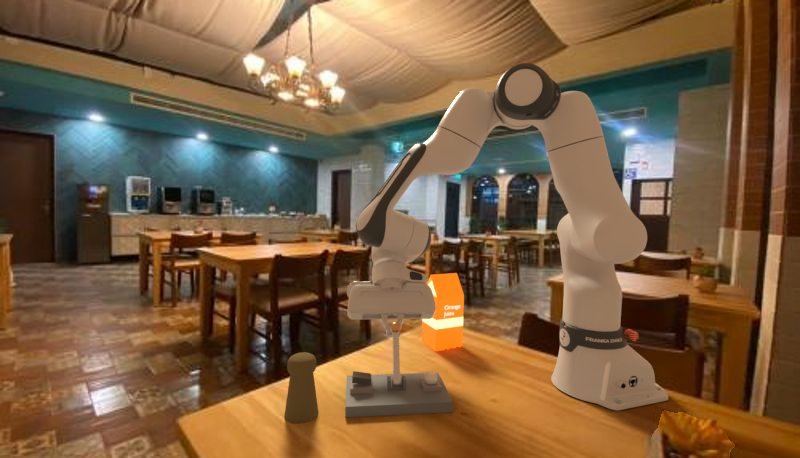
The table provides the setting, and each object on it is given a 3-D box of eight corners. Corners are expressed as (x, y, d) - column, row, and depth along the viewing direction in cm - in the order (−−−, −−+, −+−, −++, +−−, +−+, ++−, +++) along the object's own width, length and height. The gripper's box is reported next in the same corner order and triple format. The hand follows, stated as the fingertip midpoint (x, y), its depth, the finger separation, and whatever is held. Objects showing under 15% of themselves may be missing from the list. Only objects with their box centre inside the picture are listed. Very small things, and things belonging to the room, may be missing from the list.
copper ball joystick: (401, 386, 73) (400, 321, 77) (403, 387, 71) (401, 321, 75) (390, 386, 73) (389, 322, 77) (391, 387, 71) (390, 321, 75)
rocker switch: (369, 379, 73) (370, 373, 73) (370, 385, 71) (371, 379, 71) (352, 376, 72) (353, 371, 72) (352, 382, 70) (353, 376, 70)
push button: (435, 378, 75) (435, 371, 75) (438, 384, 72) (438, 377, 72) (423, 378, 74) (423, 371, 74) (425, 384, 72) (425, 377, 72)
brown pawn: (309, 425, 63) (310, 364, 62) (277, 420, 64) (278, 360, 63) (323, 406, 69) (324, 350, 68) (294, 402, 70) (294, 347, 69)
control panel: (438, 381, 80) (438, 363, 80) (452, 412, 68) (453, 391, 68) (346, 384, 77) (346, 366, 77) (345, 417, 65) (345, 396, 65)
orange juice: (421, 341, 103) (423, 272, 102) (447, 337, 107) (449, 270, 106) (435, 351, 96) (437, 277, 95) (462, 347, 100) (465, 275, 98)
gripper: (346, 274, 84) (344, 329, 75) (432, 274, 87) (440, 328, 78) (347, 288, 89) (345, 342, 80) (428, 288, 92) (435, 340, 82)
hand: (393, 335), depth 79 cm, fingers closed
